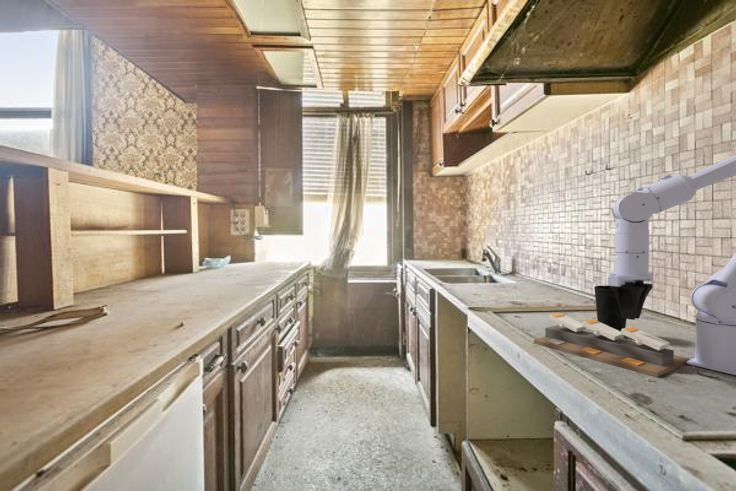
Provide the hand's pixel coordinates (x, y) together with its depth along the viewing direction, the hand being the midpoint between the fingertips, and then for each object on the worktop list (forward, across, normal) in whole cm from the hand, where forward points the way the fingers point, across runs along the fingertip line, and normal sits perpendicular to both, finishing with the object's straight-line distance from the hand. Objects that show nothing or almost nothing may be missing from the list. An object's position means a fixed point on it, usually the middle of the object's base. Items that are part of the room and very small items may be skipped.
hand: (630, 318), depth 78 cm
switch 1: (+5, 0, -14) cm, 15 cm away
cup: (+9, -16, -12) cm, 21 cm away
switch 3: (+5, 0, +2) cm, 5 cm away
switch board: (+8, 0, -5) cm, 10 cm away
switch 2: (+5, 0, -6) cm, 7 cm away
